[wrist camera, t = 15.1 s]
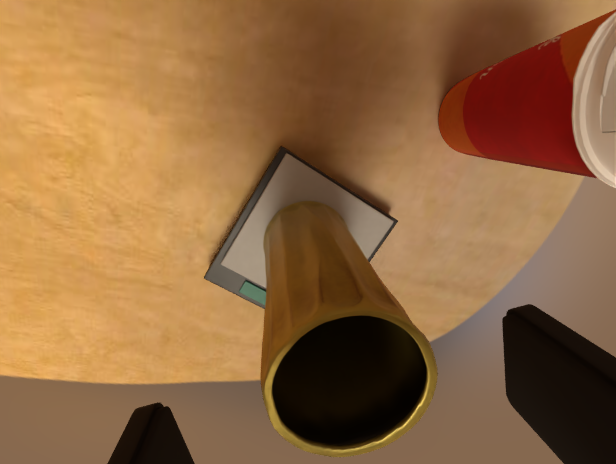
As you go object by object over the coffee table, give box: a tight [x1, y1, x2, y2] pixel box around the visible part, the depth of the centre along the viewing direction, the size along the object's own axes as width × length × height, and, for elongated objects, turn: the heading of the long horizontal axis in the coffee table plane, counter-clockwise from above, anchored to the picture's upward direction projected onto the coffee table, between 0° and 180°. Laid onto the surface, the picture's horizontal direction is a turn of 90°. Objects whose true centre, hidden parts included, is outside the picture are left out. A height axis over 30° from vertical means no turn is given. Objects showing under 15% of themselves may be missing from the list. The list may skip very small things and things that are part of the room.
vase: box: [261, 201, 438, 457], centre depth 16 cm, size 6×6×14 cm
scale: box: [204, 146, 398, 309], centre depth 25 cm, size 10×11×3 cm
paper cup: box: [439, 10, 616, 188], centre depth 18 cm, size 8×8×14 cm
